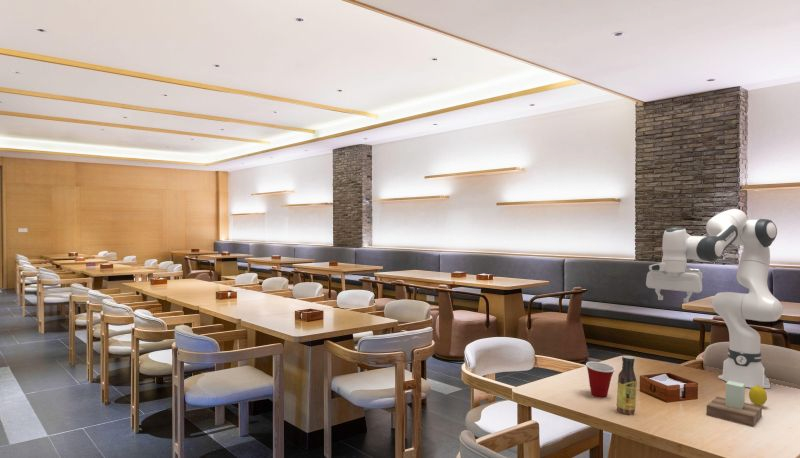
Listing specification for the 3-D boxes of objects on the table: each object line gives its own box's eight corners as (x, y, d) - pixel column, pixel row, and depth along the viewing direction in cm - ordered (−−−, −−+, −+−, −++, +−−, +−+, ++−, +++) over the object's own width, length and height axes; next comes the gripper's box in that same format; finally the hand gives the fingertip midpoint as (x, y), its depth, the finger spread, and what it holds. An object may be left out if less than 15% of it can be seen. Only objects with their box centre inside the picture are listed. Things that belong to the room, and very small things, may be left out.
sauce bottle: (627, 416, 177) (629, 360, 177) (612, 410, 183) (614, 356, 183) (639, 413, 180) (641, 358, 180) (624, 407, 186) (626, 354, 186)
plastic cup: (604, 402, 191) (605, 371, 191) (579, 394, 200) (580, 364, 200) (619, 397, 198) (620, 366, 197) (595, 389, 206) (595, 360, 206)
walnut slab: (716, 407, 190) (717, 396, 190) (761, 417, 180) (761, 406, 180) (706, 416, 180) (706, 405, 180) (753, 428, 171) (753, 416, 170)
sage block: (727, 402, 184) (728, 380, 184) (744, 405, 181) (745, 383, 181) (725, 405, 180) (725, 383, 180) (741, 409, 177) (742, 386, 177)
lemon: (769, 409, 187) (770, 388, 187) (752, 408, 188) (753, 387, 188) (762, 404, 193) (762, 383, 192) (745, 403, 194) (746, 382, 194)
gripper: (705, 269, 199) (704, 303, 199) (650, 265, 213) (649, 297, 213) (700, 269, 194) (699, 305, 194) (645, 265, 209) (644, 299, 209)
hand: (673, 301), depth 204 cm, fingers open, 8 cm apart
